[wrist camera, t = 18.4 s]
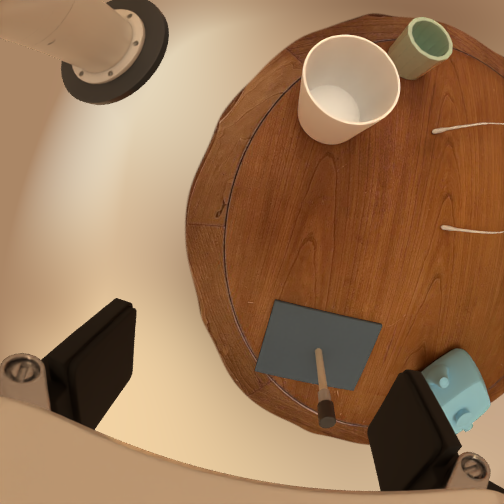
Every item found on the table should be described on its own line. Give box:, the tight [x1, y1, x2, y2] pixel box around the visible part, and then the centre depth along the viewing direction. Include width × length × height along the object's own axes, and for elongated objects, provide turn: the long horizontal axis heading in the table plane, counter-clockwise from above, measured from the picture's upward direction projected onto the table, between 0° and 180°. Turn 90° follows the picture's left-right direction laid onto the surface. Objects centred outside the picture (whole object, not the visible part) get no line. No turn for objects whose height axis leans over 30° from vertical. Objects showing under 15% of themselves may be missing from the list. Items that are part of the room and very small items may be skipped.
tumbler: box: [387, 17, 453, 80], centre depth 30 cm, size 6×6×9 cm
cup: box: [298, 35, 400, 144], centre depth 30 cm, size 8×8×16 cm
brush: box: [315, 348, 336, 428], centre depth 37 cm, size 2×2×15 cm
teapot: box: [421, 348, 490, 434], centre depth 38 cm, size 12×18×12 cm
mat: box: [255, 299, 382, 391], centre depth 45 cm, size 16×12×1 cm
